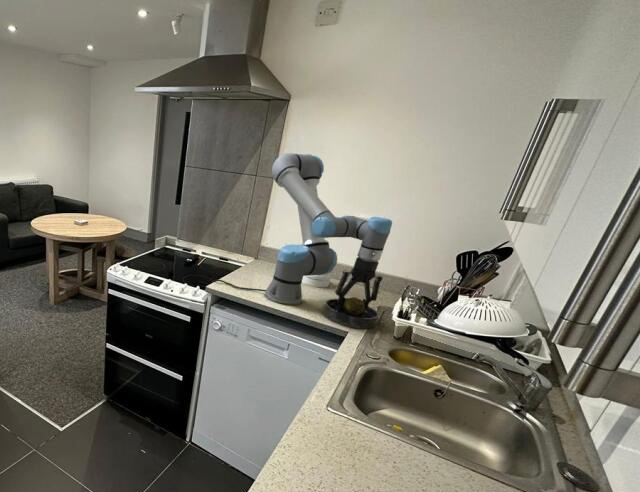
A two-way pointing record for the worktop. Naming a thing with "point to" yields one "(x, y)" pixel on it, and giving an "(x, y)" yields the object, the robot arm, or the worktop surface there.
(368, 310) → the pan
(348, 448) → the worktop surface
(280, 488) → the worktop surface
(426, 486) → the worktop surface
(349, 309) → the potato
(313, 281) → the honey pot
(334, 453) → the worktop surface
